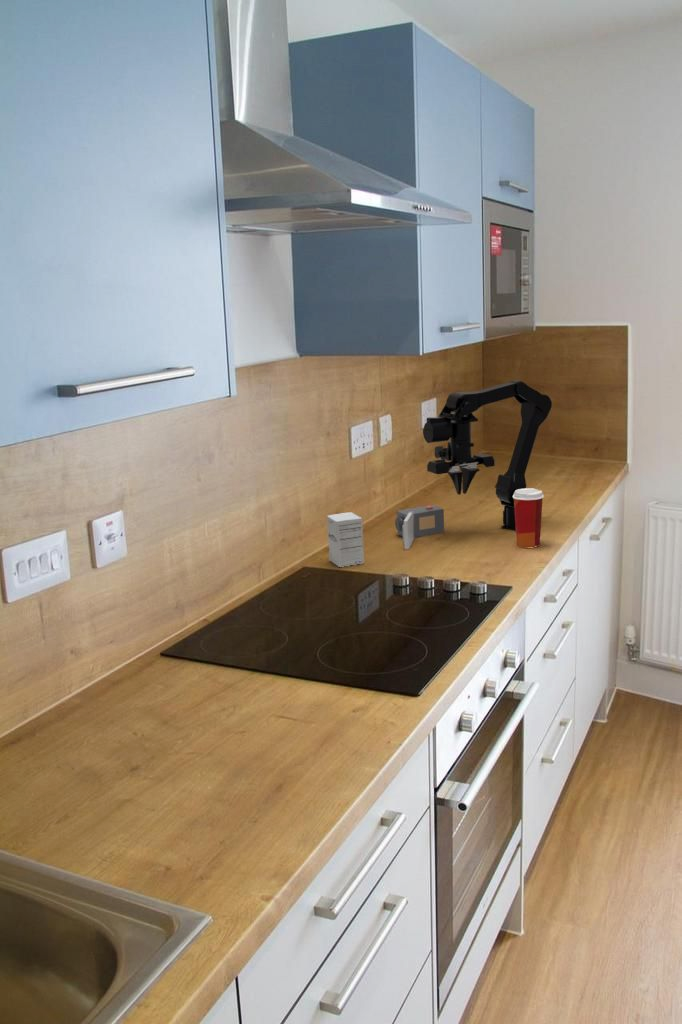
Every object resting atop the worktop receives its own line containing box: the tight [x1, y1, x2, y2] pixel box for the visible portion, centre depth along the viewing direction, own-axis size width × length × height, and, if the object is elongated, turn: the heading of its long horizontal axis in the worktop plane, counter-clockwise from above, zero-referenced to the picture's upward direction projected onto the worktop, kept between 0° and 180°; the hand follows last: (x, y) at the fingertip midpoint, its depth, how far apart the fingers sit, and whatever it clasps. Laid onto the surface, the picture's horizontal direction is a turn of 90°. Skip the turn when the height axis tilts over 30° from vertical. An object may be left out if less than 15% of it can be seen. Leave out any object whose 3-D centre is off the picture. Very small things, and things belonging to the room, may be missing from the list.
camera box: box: [394, 504, 445, 538], centre depth 256 cm, size 13×6×8 cm, turn 113°
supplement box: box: [326, 511, 365, 568], centre depth 233 cm, size 7×7×13 cm
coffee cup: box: [513, 487, 545, 548], centre depth 239 cm, size 8×8×15 cm
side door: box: [402, 511, 416, 550], centre depth 247 cm, size 11×2×8 cm, turn 167°
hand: (461, 493), depth 248 cm, fingers closed
